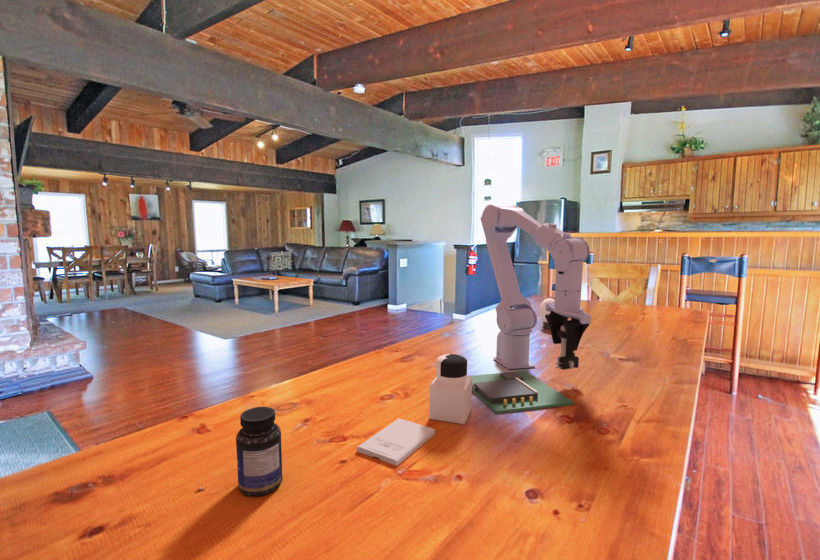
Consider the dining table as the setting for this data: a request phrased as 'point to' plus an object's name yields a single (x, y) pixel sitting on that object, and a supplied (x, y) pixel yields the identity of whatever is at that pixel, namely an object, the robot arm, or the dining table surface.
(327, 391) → the dining table surface
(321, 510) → the dining table surface
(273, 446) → the pill bottle
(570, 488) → the dining table surface
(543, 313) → the light bulb
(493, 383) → the pad
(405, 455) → the external hard drive
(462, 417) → the medicine bottle
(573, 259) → the robot arm
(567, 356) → the push button
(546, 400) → the circuit board
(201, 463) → the dining table surface
